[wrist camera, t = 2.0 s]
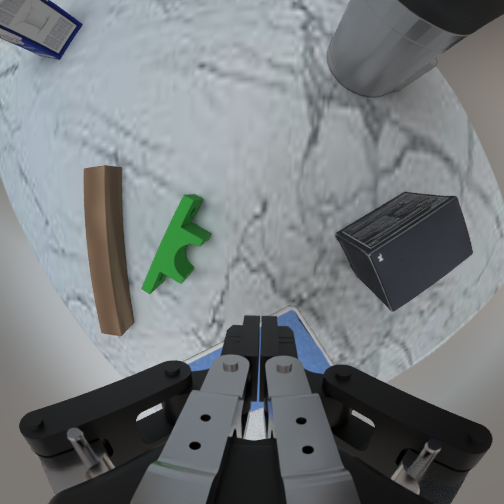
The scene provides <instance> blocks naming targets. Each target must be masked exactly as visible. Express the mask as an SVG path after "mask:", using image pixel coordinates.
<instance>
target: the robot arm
mask: <svg viewBox="0 0 504 504" xmlns="http://www.w3.org/2000/svg"><path fill="white" fill-rule="evenodd" d="M503 14H504V0H350V2H349V4H348V6H347V8H346V10H345V12H344V15H343V17H342V19H341V21H340V23H339V26H338V28H337V30H336V32H335V34H334V37H333V38H332V40H331V42H330V45H329V48H328V51H327V61H328V65H329V67H330V70H331V72H332V73H333V75H334V76H335V77H336V79H337V80H338V81H339V82H340V83H341V84H342V85H344V86H345V87H346V88H348V89H349V90H351V91H353V92H355V93H357V94H360V95H363V96H370V97H377V96H382V95H385V94H387V93H388V92H390V91H400V90H402V89H403V88H404V87H406V86H407V85H409V84H410V83H412V82H413V81H415V80H416V79H418V78H419V77H421V76H422V75H424V74H425V73H427V72H428V71H430V70H431V69H433V68H434V67H436V65H437V57H438V56H439V55H441V54H442V53H444V52H445V51H447V50H448V49H449V48H451V47H452V46H454V45H455V44H457V43H458V42H460V41H461V40H463V39H464V38H466V37H467V36H468V35H470V34H472V33H474V32H475V31H477V30H478V29H480V28H481V27H483V26H484V25H486V24H487V23H489V22H491V21H493V20H494V19H496V18H498V17H499V16H501V15H503ZM259 348H260V382H259V402H264V415H263V417H264V429H265V439H262V440H255V441H252V440H247V439H245V436H246V431H247V426H248V421H249V416H250V409H251V403H252V402H257V391H258V371H259ZM160 403H162V407H163V409H161V410H159V411H157V412H155V413H153V414H151V415H149V416H147V417H145V418H143V419H141V420H139V421H137V422H136V419H137V416H138V415H139V414H140V413H141V412H143V411H145V410H147V409H149V408H152V407H154V406H156V405H158V404H160ZM352 410H355V411H357V412H358V413H360V414H362V415H363V416H365V417H367V418H369V419H370V420H371V421H373V423H374V425H375V427H372V426H371V425H369V424H368V423H366V422H364V421H362V420H361V419H359V418H357V417H355V416H353V415H352V414H351V413H352ZM19 428H20V431H21V433H22V435H23V436H24V438H25V439H26V441H27V442H28V444H29V445H30V446H31V449H32V450H33V452H34V453H35V455H36V456H37V457H38V459H39V460H40V461H41V464H42V466H43V468H44V471H45V473H46V476H47V478H48V480H49V482H50V485H51V487H52V489H53V491H54V493H55V496H54V497H53V498H52V499H51V500H50V502H49V503H48V504H451V502H452V501H453V499H454V497H455V496H456V494H457V492H458V490H459V489H460V487H461V485H462V483H463V482H464V480H465V478H466V477H467V475H468V474H469V473H470V472H471V471H472V470H473V468H474V467H475V466H476V465H477V463H478V462H479V461H480V460H481V458H482V457H483V456H484V455H485V453H486V452H487V451H488V449H489V448H490V446H491V443H492V435H491V433H490V431H489V430H488V429H487V428H486V427H484V426H483V425H481V424H478V423H476V422H473V421H471V420H468V419H466V418H463V417H461V416H458V415H456V414H453V413H451V412H449V411H446V410H444V409H441V408H439V407H437V406H435V405H432V404H430V403H428V402H426V401H423V400H421V399H419V398H416V397H414V396H412V395H410V394H408V393H406V392H404V391H401V390H399V389H397V388H395V387H393V386H391V385H389V384H387V383H384V382H382V381H380V380H378V379H376V378H374V377H372V376H370V375H368V374H366V373H364V372H362V371H360V370H358V369H356V368H354V367H352V366H348V365H334V366H331V367H329V368H327V369H326V370H325V372H324V374H321V373H315V372H311V371H308V370H306V369H304V367H303V364H302V363H301V361H300V360H298V354H297V349H296V343H295V338H294V332H293V330H292V329H291V328H290V327H289V326H278V323H277V316H262V321H261V345H260V316H247V315H245V316H244V322H243V325H233V326H231V327H230V328H229V329H228V330H227V333H226V337H225V340H224V344H223V348H222V351H221V355H220V357H218V358H216V359H215V360H214V361H213V362H212V365H211V367H210V368H208V369H205V370H199V371H191V368H190V366H189V365H188V364H186V363H185V362H182V361H166V362H163V363H160V364H158V365H156V366H153V367H151V368H149V369H146V370H144V371H142V372H139V373H137V374H134V375H132V376H129V377H127V378H124V379H122V380H119V381H117V382H114V383H112V384H109V385H106V386H104V387H101V388H99V389H96V390H93V391H91V392H88V393H85V394H82V395H80V396H77V397H74V398H71V399H68V400H65V401H62V402H59V403H56V404H53V405H51V406H47V407H44V408H41V409H38V410H35V411H32V412H30V413H27V414H26V415H25V416H24V417H23V418H22V419H21V421H20V424H19Z"/></svg>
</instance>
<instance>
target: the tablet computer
mask: <svg viewBox="0 0 504 504" xmlns="http://www.w3.org/2000/svg"><path fill="white" fill-rule="evenodd" d="M271 316H277V323H278V326H289V327H290V328H291V329H292V330H293V332H294V338H295V343H296V349H297V354H298V360H300V361H301V363H302V364H303V367H304V369H306V370H308V371H311V372H315V373H321V374H324V372H325V370H326V369H327V368H329V367H331V366H334V364H333V363H332V361H331V360H330V358H329V356H328V355H327V353H326V352H325V350H324V349H323V347H322V345H321V344H320V342H319V341H318V339H317V337H316V336H315V334H314V333H313V331H312V330H311V328H310V326H309V325H308V323H307V322H306V320H305V318H304V317H303V315H302V314H301V312H300V310H299V309H298V308H297V307H296V306H295V305H289V306H287V307H285V308H283V309H281V310H280V311H278V312H276V313H275V314H273V315H271ZM223 344H224V342H222V343H220V344H218V345H216V346H214V347H212V348H210V349H208V350H206V351H204V352H202V353H200V354H198V355H196V356H194V357H192V358H190V359H188V360H186V361H183V362H185V363H186V364H188V365H189V366H190V368H191V371H199V370H205V369H208V368H210V367H211V365H212V362H213V361H214V360H215V359H216V358H218V357H220V355H221V351H222V348H223ZM260 345H261V322H260ZM259 382H260V348H259V371H258V391H257V402H252V403H251V409H250V413H252V412H255V411H257V410H260V409H262V408H264V402H259Z"/></svg>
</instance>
